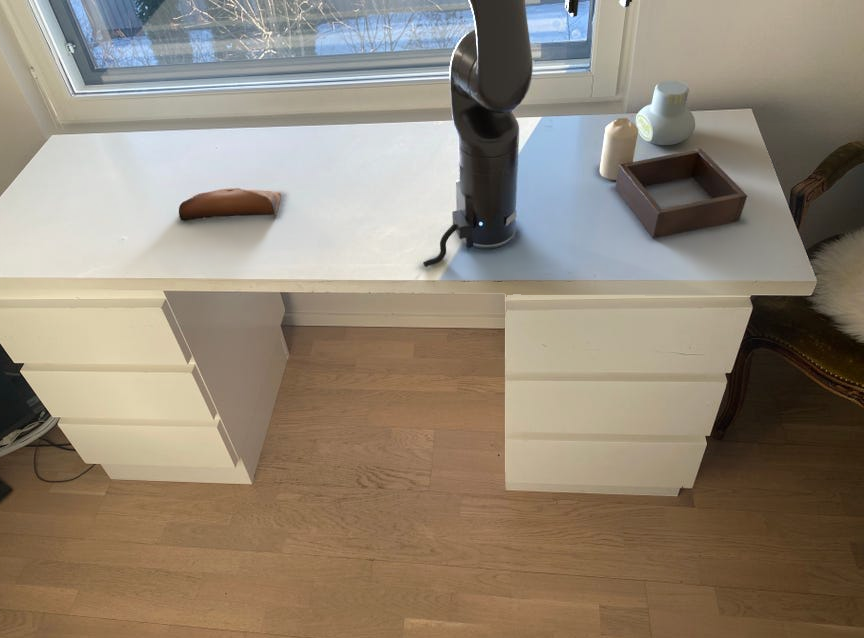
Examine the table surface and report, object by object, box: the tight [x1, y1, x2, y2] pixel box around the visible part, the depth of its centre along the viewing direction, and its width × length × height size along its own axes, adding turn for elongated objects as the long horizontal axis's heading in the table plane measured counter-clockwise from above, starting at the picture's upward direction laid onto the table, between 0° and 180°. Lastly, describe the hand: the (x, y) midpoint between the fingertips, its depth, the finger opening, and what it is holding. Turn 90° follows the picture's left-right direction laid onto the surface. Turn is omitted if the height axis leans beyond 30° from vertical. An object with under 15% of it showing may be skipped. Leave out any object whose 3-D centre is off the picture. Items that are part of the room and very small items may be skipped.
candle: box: [599, 117, 639, 181], centre depth 128 cm, size 6×6×10 cm
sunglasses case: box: [178, 187, 282, 222], centre depth 134 cm, size 18×7×7 cm
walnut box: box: [614, 148, 748, 239], centre depth 121 cm, size 15×15×5 cm
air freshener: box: [635, 80, 696, 146], centre depth 134 cm, size 11×8×10 cm
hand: (598, 10), depth 113 cm, fingers open, 8 cm apart
